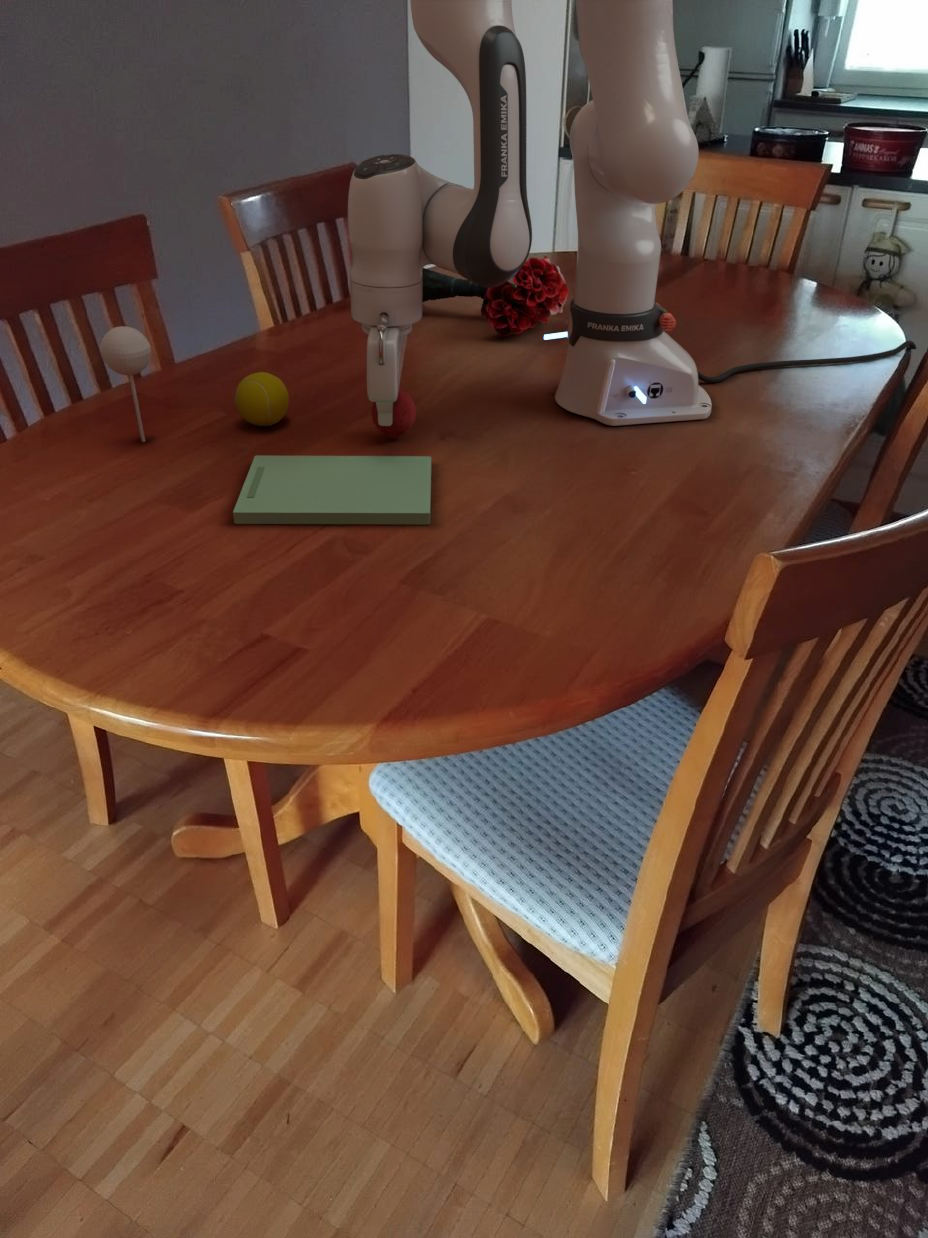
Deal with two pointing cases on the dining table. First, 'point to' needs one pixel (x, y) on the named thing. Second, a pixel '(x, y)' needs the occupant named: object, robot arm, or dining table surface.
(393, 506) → the cutting board
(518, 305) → the carnation
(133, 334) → the lollipop
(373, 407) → the onion
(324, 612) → the dining table surface
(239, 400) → the tennis ball
